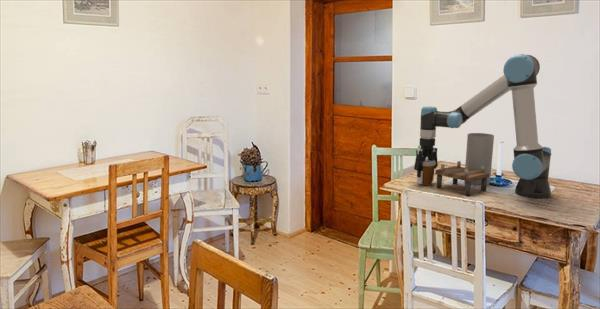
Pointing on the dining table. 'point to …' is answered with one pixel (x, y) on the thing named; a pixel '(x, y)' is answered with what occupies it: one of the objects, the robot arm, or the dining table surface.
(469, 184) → the peg shelf stand
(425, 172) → the disposable coffee cup
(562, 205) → the dining table surface
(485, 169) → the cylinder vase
